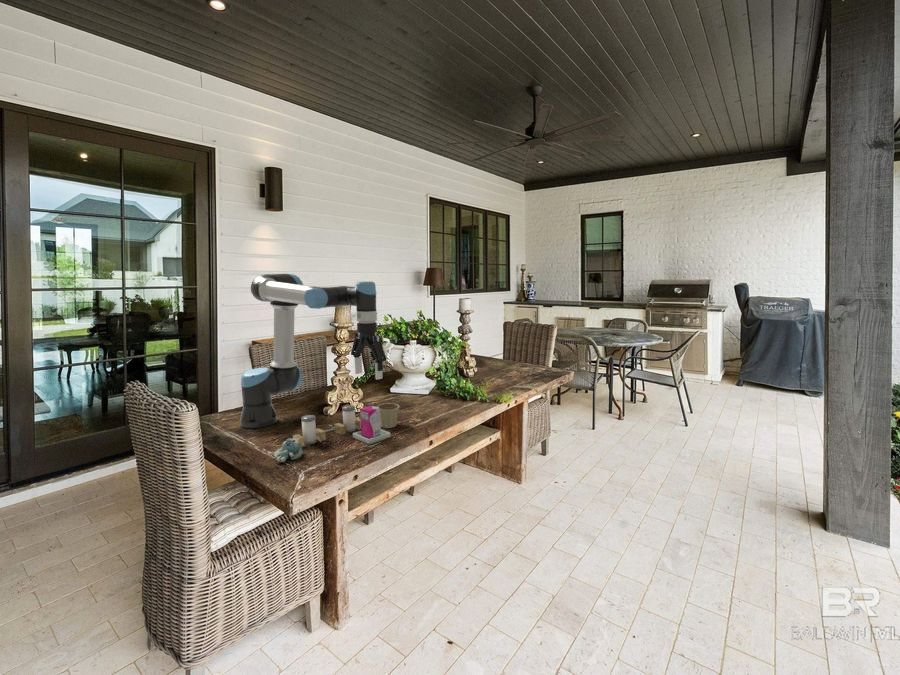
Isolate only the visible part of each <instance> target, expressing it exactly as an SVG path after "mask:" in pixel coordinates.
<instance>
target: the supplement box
mask: <svg viewBox="0 0 900 675" xmlns="http://www.w3.org/2000/svg"><path fill="white" fill-rule="evenodd" d="M359 417H360V418H359V419H360V420H361V430H360V431H361V436H363V437H366V438H368V439H370V438H373V437H376V436H380V435H381V429H382V426H381V419H380V408H379V407H377V406H374V405H368V406H364V407H361V408H359Z"/></svg>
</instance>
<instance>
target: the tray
mask: <svg viewBox="0 0 900 675" xmlns="http://www.w3.org/2000/svg"><path fill="white" fill-rule="evenodd" d="M391 434H392V433H391V432H390V431H387V430H384V429H382V428H381V435H380V436H376V437H373V438H370V439H368V438H366V437H363V436H361V430H359V431H354V432H352V438H353V439H355V440H358V441H360V442H362V443H364V444H367V445H371V444H374V443H377V442H380V441H381V442H382V441H384V440H386V439H389V438H392V437H391Z"/></svg>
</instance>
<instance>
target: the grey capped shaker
mask: <svg viewBox="0 0 900 675" xmlns="http://www.w3.org/2000/svg"><path fill="white" fill-rule="evenodd" d="M341 409H342V425H345V431H346V434H348V433H349V434H351V433H355V432H357V428H356V424H355V418H356V406H355V405H352V404H351V405H350V404H347V405H343V406H342V407H341Z"/></svg>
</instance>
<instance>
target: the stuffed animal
mask: <svg viewBox="0 0 900 675" xmlns="http://www.w3.org/2000/svg"><path fill="white" fill-rule="evenodd" d="M303 451H304V450H303V447H301V444H300V442H299V440H298V439H293V438H290V437H289V438H287V439H286V440H285V441H283V443H282V444H281V447H280V448H278V449H277V450H275V451H274V452H273V454H272V455H273V456H274V458H275V460H276V462H278V463H280V462H282V463H285V462H286V460H287V459H289V457H290V460H291V461H294V460H295V461H296V460H298V459H300V458H301V457H302V456H303V454H304V453H303Z"/></svg>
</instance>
